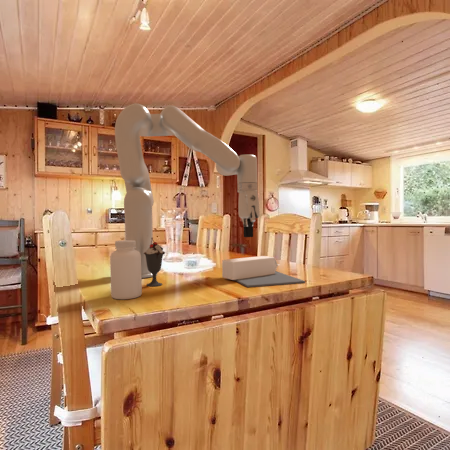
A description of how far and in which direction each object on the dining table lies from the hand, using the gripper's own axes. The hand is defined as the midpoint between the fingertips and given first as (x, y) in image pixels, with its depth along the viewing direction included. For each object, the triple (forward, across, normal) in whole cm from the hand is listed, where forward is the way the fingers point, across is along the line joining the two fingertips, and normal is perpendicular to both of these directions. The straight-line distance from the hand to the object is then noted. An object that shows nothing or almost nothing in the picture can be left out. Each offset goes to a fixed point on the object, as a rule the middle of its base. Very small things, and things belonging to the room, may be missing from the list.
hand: (248, 236), depth 126 cm
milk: (+10, -12, +13) cm, 20 cm away
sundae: (+13, -11, +37) cm, 40 cm away
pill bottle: (+13, -23, +46) cm, 53 cm away
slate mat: (+13, -14, +1) cm, 19 cm away
